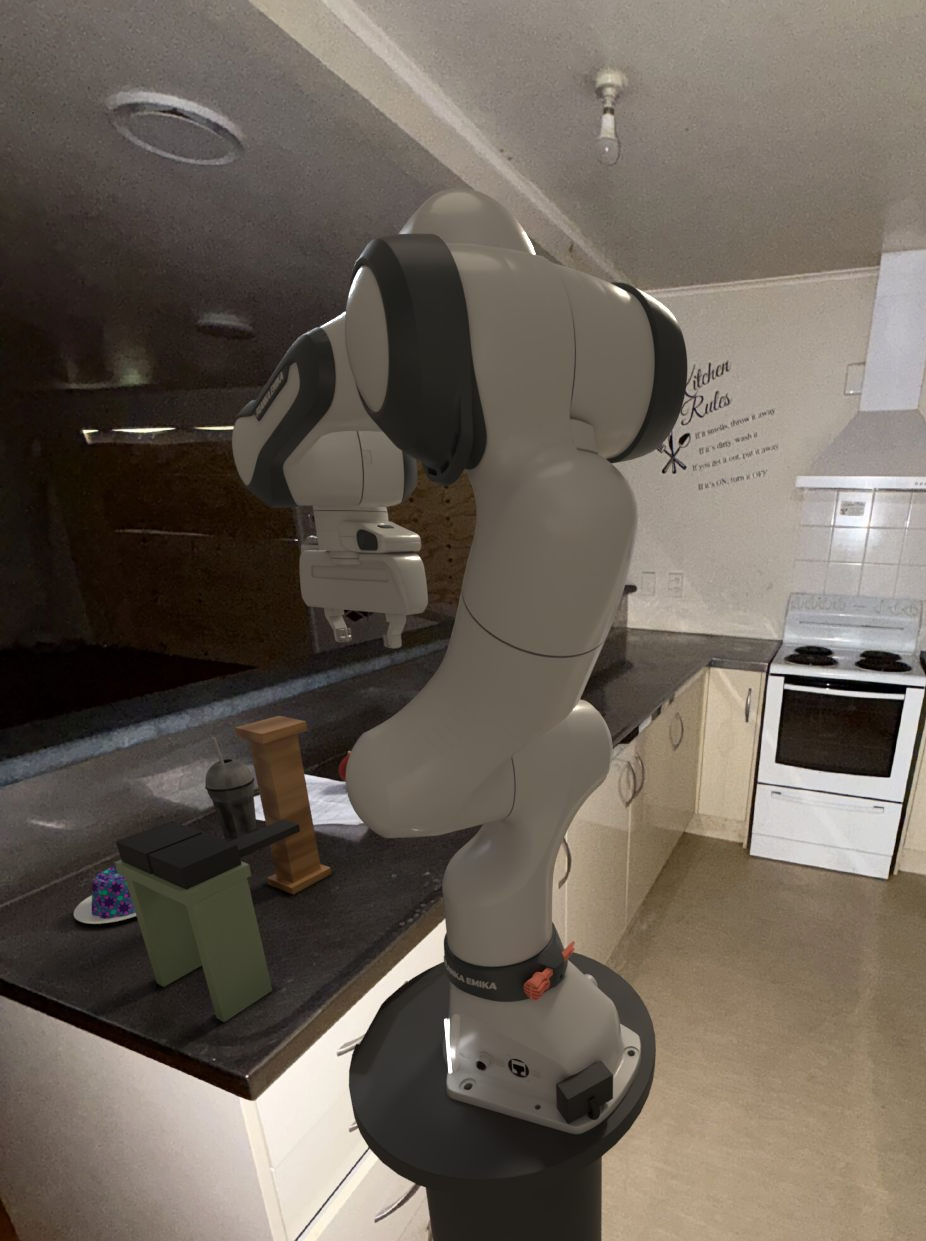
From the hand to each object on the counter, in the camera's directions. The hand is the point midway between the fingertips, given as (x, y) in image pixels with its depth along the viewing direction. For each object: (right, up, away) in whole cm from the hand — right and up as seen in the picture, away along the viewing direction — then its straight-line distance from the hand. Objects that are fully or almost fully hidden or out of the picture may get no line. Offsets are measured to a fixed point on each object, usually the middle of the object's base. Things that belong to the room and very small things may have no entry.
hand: (368, 644), depth 86 cm
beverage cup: (-31, -30, +25) cm, 50 cm away
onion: (-21, -21, +49) cm, 58 cm away
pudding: (-38, -37, +7) cm, 54 cm away
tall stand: (-16, -34, +14) cm, 40 cm away
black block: (-18, -27, -14) cm, 35 cm away
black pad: (-10, -27, -14) cm, 31 cm away
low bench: (-15, -43, -10) cm, 47 cm away
